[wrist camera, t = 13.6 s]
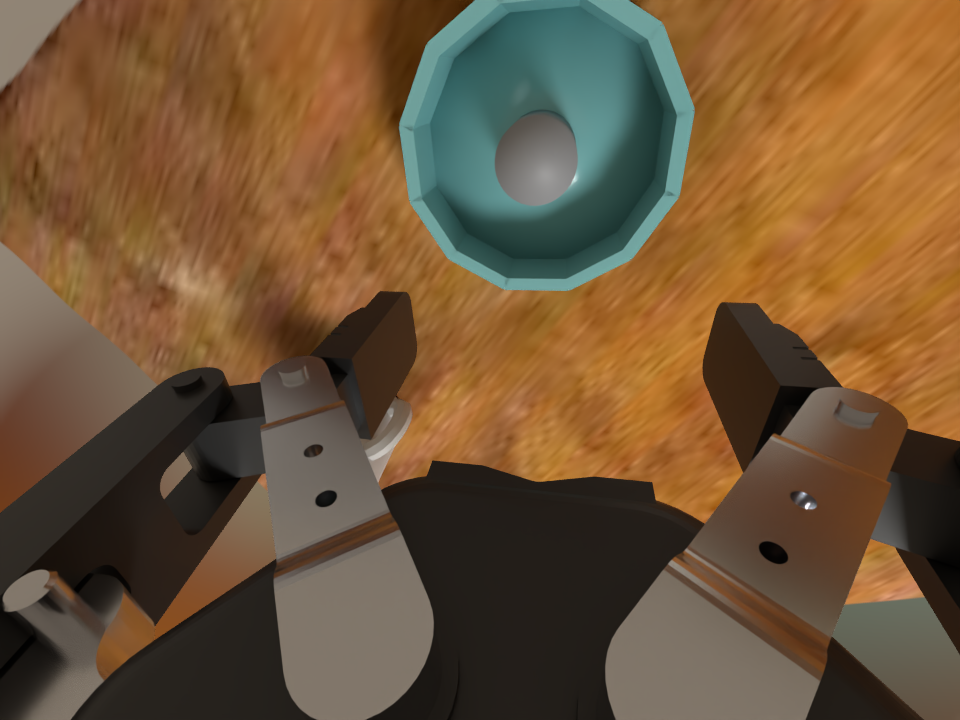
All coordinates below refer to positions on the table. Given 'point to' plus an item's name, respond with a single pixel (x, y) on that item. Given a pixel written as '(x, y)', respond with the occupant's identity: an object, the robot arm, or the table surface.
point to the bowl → (575, 96)
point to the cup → (387, 435)
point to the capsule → (537, 158)
